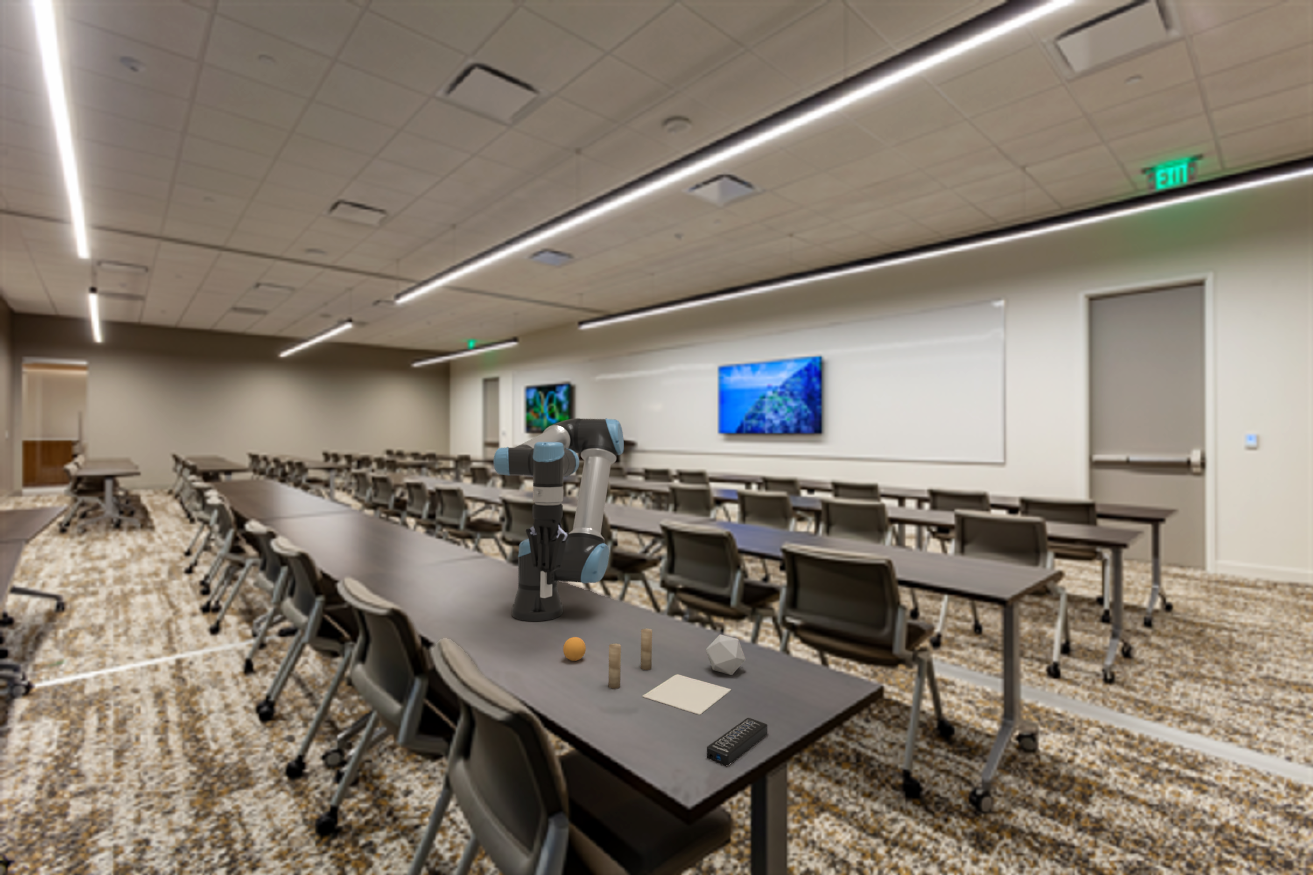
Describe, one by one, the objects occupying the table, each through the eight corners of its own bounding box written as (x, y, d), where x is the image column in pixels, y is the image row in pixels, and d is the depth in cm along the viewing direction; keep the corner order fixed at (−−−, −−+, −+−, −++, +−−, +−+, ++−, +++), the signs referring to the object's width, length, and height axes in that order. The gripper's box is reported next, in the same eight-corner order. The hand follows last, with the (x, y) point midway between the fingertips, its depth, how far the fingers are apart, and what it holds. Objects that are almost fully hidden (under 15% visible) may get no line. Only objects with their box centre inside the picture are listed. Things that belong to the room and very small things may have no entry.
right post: (644, 664, 146) (645, 627, 146) (653, 667, 144) (654, 629, 144) (638, 668, 144) (639, 630, 143) (647, 671, 142) (648, 632, 142)
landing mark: (676, 674, 140) (676, 674, 140) (731, 690, 132) (731, 689, 132) (642, 696, 128) (642, 695, 128) (699, 715, 121) (699, 714, 121)
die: (751, 672, 144) (738, 633, 149) (745, 666, 137) (732, 625, 142) (718, 683, 145) (707, 643, 150) (711, 677, 138) (699, 635, 143)
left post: (613, 682, 135) (613, 642, 135) (622, 685, 134) (623, 645, 134) (606, 686, 133) (606, 646, 133) (615, 689, 132) (616, 648, 132)
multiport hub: (768, 736, 114) (768, 724, 114) (727, 769, 103) (727, 755, 103) (747, 728, 117) (747, 716, 117) (705, 760, 105) (705, 746, 105)
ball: (573, 654, 152) (573, 632, 152) (590, 658, 149) (590, 636, 149) (558, 660, 147) (558, 638, 147) (575, 666, 144) (575, 643, 144)
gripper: (518, 502, 153) (516, 595, 153) (556, 506, 146) (555, 604, 146) (539, 499, 159) (537, 589, 159) (577, 503, 152) (575, 597, 152)
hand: (546, 596), depth 153 cm, fingers closed
